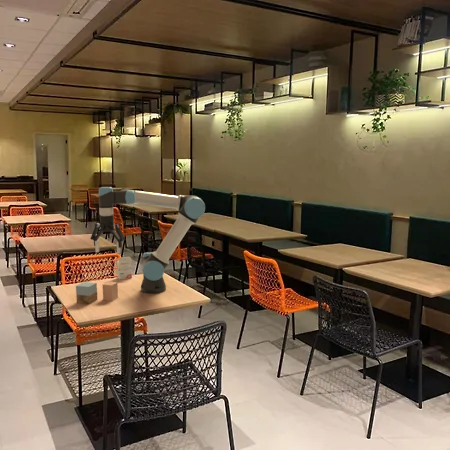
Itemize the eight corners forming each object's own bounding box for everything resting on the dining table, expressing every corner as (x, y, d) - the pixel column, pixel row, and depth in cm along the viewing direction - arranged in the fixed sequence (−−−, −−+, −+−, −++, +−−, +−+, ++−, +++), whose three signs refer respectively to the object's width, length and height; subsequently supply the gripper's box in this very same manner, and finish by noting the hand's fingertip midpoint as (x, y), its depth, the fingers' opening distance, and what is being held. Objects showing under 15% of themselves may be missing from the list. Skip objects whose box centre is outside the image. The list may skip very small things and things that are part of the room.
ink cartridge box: (129, 276, 303) (129, 255, 301) (131, 278, 299) (131, 256, 297) (117, 277, 299) (116, 256, 297) (119, 279, 295) (118, 257, 293)
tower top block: (97, 291, 252) (96, 283, 251) (89, 295, 244) (88, 286, 243) (84, 290, 254) (83, 281, 253) (76, 294, 246) (75, 285, 245)
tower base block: (97, 300, 252) (97, 291, 252) (89, 304, 245) (89, 295, 244) (84, 299, 254) (84, 290, 254) (76, 303, 247) (76, 294, 246)
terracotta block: (117, 297, 256) (117, 282, 255) (112, 300, 251) (112, 285, 249) (108, 296, 258) (108, 281, 257) (103, 300, 252) (102, 284, 251)
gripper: (130, 214, 248) (131, 252, 251) (90, 213, 255) (92, 250, 258) (123, 216, 241) (124, 255, 244) (83, 215, 248) (84, 252, 251)
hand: (108, 252), depth 251 cm, fingers open, 13 cm apart
